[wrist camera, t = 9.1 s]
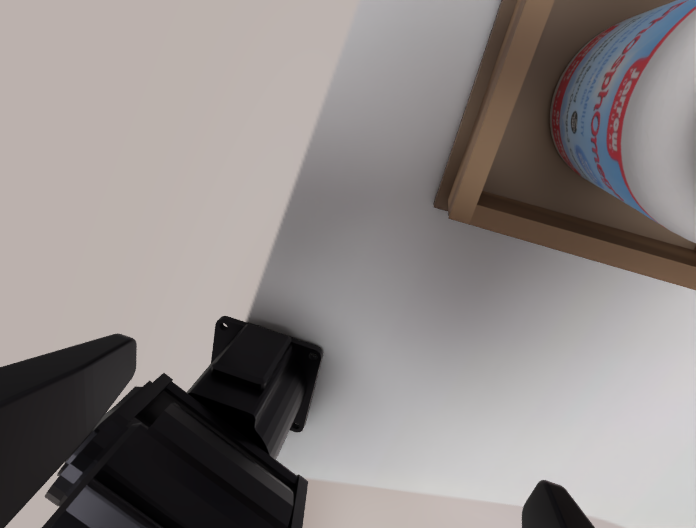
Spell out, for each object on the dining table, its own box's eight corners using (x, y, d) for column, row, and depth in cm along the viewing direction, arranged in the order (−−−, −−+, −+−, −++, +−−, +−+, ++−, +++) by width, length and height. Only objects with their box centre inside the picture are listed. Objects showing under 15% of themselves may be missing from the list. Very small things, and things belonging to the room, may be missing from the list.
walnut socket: (696, 278, 18) (754, 321, 15) (433, 202, 20) (432, 226, 16) (911, -43, 14) (1070, -88, 10) (542, -120, 15) (572, -184, 11)
